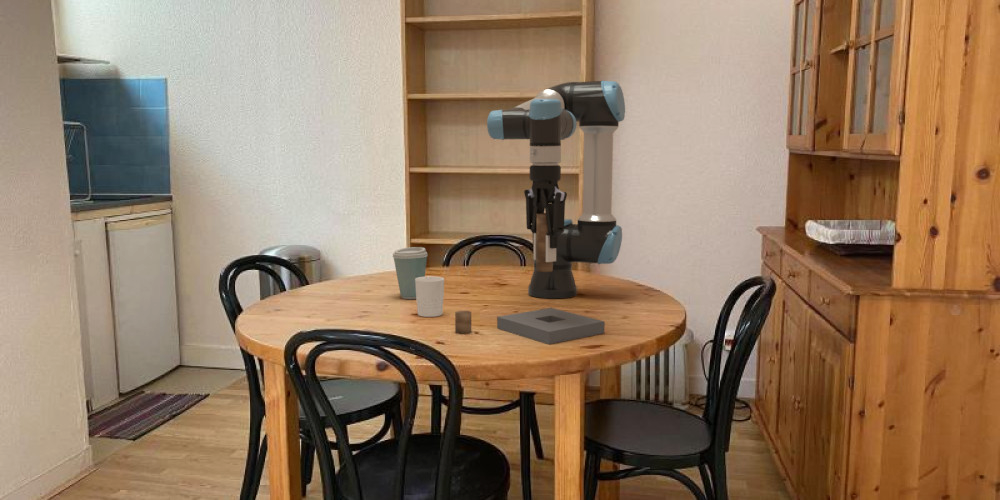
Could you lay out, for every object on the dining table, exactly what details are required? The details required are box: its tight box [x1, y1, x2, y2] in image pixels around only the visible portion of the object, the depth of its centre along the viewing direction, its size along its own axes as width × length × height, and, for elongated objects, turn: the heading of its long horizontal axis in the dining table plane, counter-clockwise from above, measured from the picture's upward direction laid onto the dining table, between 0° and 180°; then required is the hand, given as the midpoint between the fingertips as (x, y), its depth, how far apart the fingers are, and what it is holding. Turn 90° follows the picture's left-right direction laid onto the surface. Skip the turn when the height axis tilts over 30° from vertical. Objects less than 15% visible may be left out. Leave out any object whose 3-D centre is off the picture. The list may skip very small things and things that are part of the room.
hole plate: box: [496, 307, 606, 345], centre depth 192 cm, size 20×18×3 cm
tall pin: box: [536, 212, 553, 272], centre depth 187 cm, size 4×4×14 cm
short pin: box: [454, 310, 472, 335], centre depth 190 cm, size 4×4×5 cm
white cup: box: [415, 275, 445, 318], centre depth 210 cm, size 8×8×10 cm
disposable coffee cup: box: [392, 246, 429, 300], centre depth 233 cm, size 11×11×15 cm
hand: (544, 260), depth 188 cm, fingers closed on tall pin, 4 cm apart
